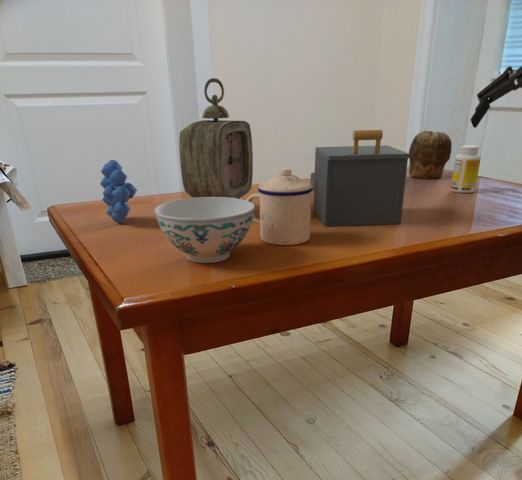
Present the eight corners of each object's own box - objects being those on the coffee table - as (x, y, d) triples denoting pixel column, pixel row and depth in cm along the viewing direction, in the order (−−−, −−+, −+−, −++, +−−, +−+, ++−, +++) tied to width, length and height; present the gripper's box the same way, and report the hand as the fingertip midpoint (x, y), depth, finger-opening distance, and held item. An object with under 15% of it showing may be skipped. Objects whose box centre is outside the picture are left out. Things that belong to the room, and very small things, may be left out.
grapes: (150, 226, 98) (143, 160, 92) (116, 231, 95) (105, 163, 89) (132, 214, 107) (124, 154, 101) (99, 219, 104) (89, 156, 98)
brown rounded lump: (413, 181, 136) (418, 132, 131) (401, 174, 146) (406, 129, 141) (453, 180, 137) (460, 131, 131) (439, 173, 146) (445, 128, 141)
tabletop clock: (221, 223, 98) (214, 77, 87) (182, 219, 102) (169, 78, 90) (253, 208, 110) (250, 77, 98) (217, 205, 113) (210, 78, 102)
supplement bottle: (478, 190, 123) (486, 145, 118) (469, 194, 120) (477, 148, 115) (456, 188, 126) (462, 144, 122) (446, 191, 123) (453, 146, 118)
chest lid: (409, 158, 90) (412, 130, 88) (328, 160, 89) (329, 132, 87) (387, 149, 102) (389, 124, 100) (315, 151, 101) (316, 126, 99)
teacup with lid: (318, 235, 90) (321, 166, 85) (299, 248, 83) (300, 174, 78) (258, 228, 95) (257, 162, 89) (235, 241, 88) (232, 170, 82)
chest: (400, 223, 96) (408, 158, 91) (324, 226, 95) (327, 160, 90) (381, 209, 108) (387, 149, 102) (313, 211, 107) (315, 151, 101)
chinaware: (231, 238, 89) (229, 193, 86) (272, 261, 77) (272, 210, 74) (148, 251, 83) (142, 203, 79) (180, 278, 71) (174, 223, 68)
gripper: (495, 43, 129) (448, 111, 128) (599, 36, 111) (546, 115, 110) (502, 67, 134) (458, 132, 133) (604, 64, 116) (553, 140, 115)
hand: (498, 125), depth 122 cm, fingers open, 13 cm apart
